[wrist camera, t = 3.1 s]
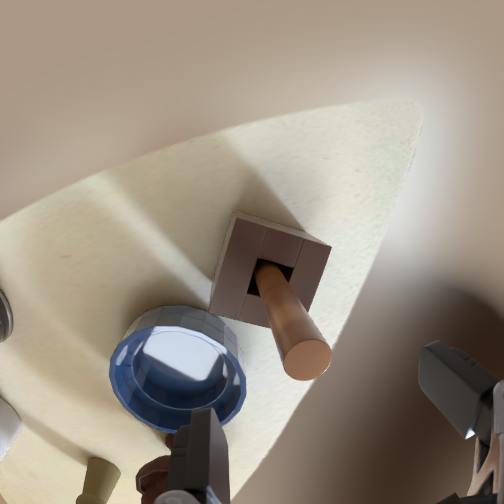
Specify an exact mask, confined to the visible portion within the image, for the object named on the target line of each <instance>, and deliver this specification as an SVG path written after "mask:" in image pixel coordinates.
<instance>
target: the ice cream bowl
mask: <svg viewBox="0 0 504 504" xmlns="http://www.w3.org/2000/svg"><path fill="white" fill-rule="evenodd" d="M174 435H175V434H173V433H170V434H168V435H166V446H167V447H168V448H169V449H170V450H171V451H172V449H173V448H172V445H173V439H174ZM170 458H171V455H165V456H161V457H158V458H156V459H154V460H153V461H151V462H149V463H147V464H145V465H144V466H143V467H142V468H141V469H140V470H139V472H138V473H137V475H136V488H137V491H139V492H140V493H141V494H142V498H141V504H153V503H154V501H155V500H156V498H157V497H159V496H160V495H161V494H163V493H165V489H166V483H167V476H168V470H169V463H170Z"/></svg>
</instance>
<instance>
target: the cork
mask: <svg viewBox="0 0 504 504" xmlns="http://www.w3.org/2000/svg"><path fill="white" fill-rule="evenodd" d="M120 475H121V473H120V470H119V469H118V468H117V467H116V466H115V465H114V464H112V463H110V462H109V461H106V460H104V459H100V458H91V459H90V460H89V462H88V466H87V471H86V476H85V482H84V487H83V492H82V494H81V495H79V496H78V498H77V499H76V504H106V503H107V501H108V499H109V497H110V495H111V493H112V491H113V489H114V487H115V485H116V483H117V481H118V479H119V477H120Z"/></svg>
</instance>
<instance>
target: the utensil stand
mask: <svg viewBox="0 0 504 504" xmlns="http://www.w3.org/2000/svg"><path fill="white" fill-rule="evenodd" d="M331 248H332V247H331V246H329V245H327V244H326V243H324V242H322V241H320V240H319V239H317V238H315V237H314V236H312V235H310V234H308V233H306V232H303V231H300V230H297V229H294V228H291V227H288V226H284V225H281V224H278V223H275V222H272V221H268V220H265V219H262V218H259V217H255V216H252V215H249V214H246V213H242V212H239V211H236V210H234V211H233V214H232V217H231V221H230V224H229V227H228V230H227V234H226V237H225V240H224V244H223V247H222V250H221V254H220V257H219V261H218V264H217V267H216V271H215V274H214V278H213V281H212V287H211V294H210V302H209V309H208V313H211V314H215V315H219V316H222V317H226V318H230V319H234V320H238V321H242V322H246V323H250V324H254V325H258V326H262V327H266V328H271V327H270V324H269V321H268V318H267V315H266V311H265V308H264V305H263V302H262V299H261V296H260V293H259V290H258V287H257V283H256V280H255V277H254V274H253V271H254V268H255V265H256V262H257V259H258V258H261V259H265V260H268V261H272V262H275V263H276V265H277V266H278V268H279V269H280V271H281V272H282V274H283V275H284V277H285V279H286V280H287V282H288V283H289V285H290V286H291V288H292V289H293V291H294V292H295V294H296V296H297V297H298V299H299V300H300V302H301V303H302V305H303V306H304V308H305V309H306V311H307V313H308V311H309V309H310V306H311V304H312V301H313V298H314V296H315V293H316V290H317V288H318V285H319V282H320V279H321V277H322V274H323V271H324V268H325V266H326V263H327V260H328V257H329V254H330V251H331Z"/></svg>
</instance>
